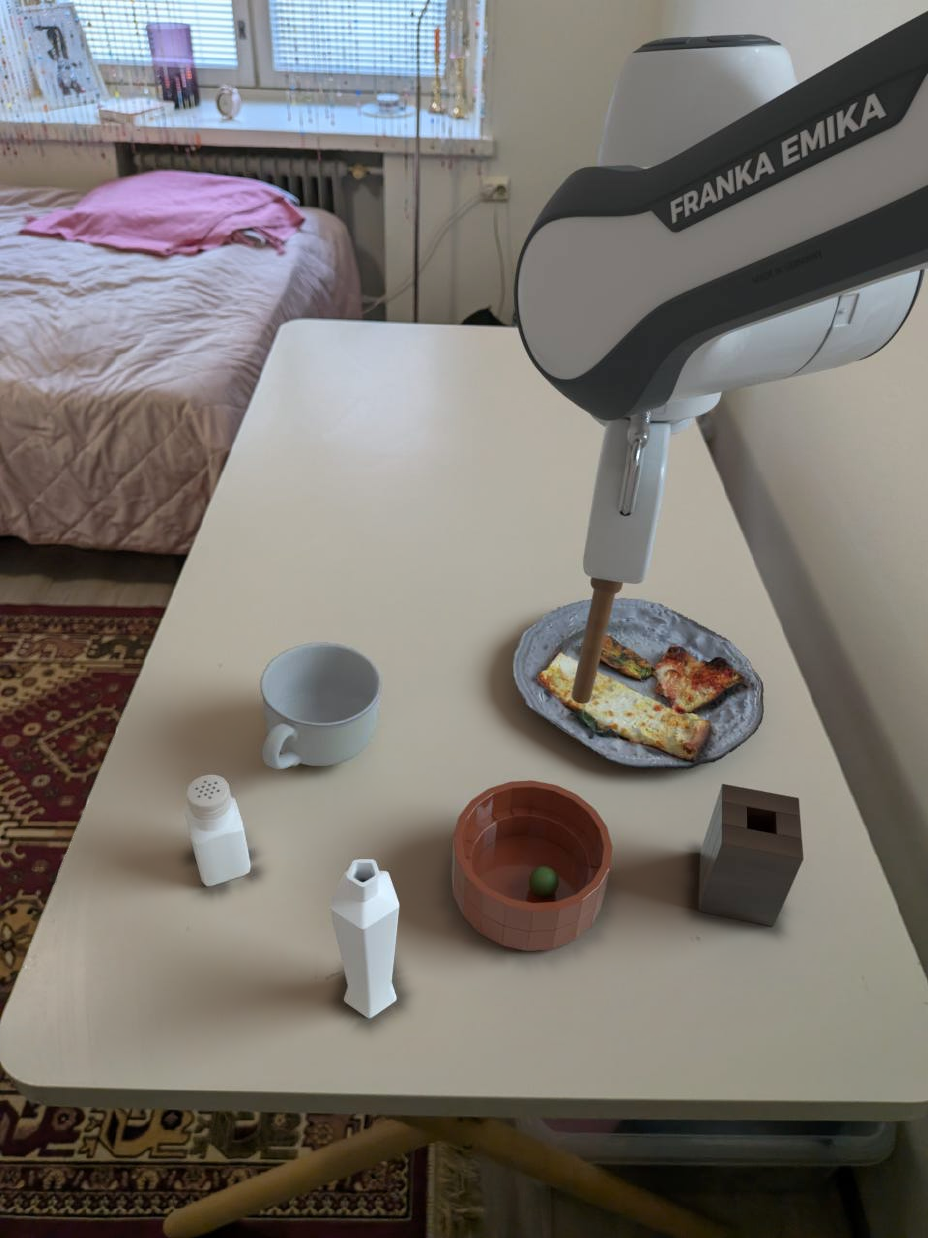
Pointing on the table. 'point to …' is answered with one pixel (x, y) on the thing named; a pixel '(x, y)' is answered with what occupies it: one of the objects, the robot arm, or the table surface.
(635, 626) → the food plate
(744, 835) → the utensil block
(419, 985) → the table surface
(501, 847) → the bowl
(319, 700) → the teacup
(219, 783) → the salt shaker
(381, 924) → the white faceted bottle
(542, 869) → the bead
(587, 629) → the stirring stick
